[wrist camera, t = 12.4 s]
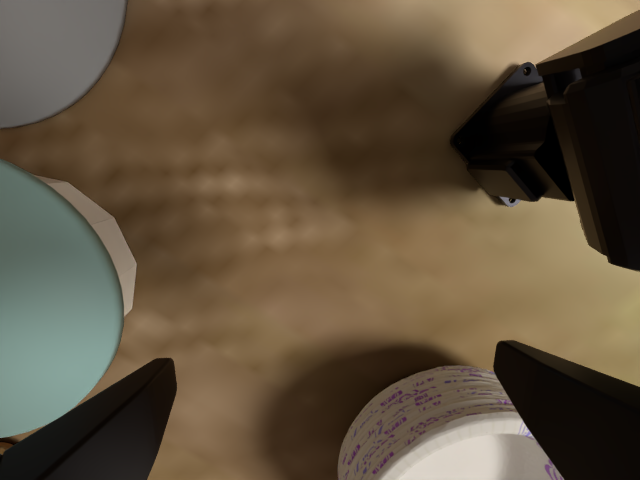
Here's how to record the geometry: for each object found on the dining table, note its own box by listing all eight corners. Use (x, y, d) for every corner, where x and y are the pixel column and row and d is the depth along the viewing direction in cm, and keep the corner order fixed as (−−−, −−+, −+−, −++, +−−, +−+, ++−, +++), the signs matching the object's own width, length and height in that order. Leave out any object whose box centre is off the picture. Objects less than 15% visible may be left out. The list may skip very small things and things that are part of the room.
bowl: (-3, 128, 18) (-97, 118, 14) (172, 261, 21) (141, 288, 16) (-113, 278, 19) (-229, 311, 15) (65, 384, 22) (10, 439, 18)
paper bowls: (548, 380, 26) (656, 472, 18) (449, 513, 29) (508, 643, 21) (390, 308, 23) (440, 382, 15) (298, 464, 26) (301, 593, 18)
